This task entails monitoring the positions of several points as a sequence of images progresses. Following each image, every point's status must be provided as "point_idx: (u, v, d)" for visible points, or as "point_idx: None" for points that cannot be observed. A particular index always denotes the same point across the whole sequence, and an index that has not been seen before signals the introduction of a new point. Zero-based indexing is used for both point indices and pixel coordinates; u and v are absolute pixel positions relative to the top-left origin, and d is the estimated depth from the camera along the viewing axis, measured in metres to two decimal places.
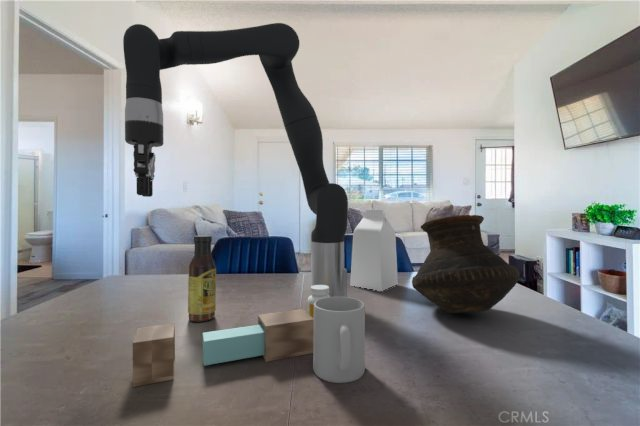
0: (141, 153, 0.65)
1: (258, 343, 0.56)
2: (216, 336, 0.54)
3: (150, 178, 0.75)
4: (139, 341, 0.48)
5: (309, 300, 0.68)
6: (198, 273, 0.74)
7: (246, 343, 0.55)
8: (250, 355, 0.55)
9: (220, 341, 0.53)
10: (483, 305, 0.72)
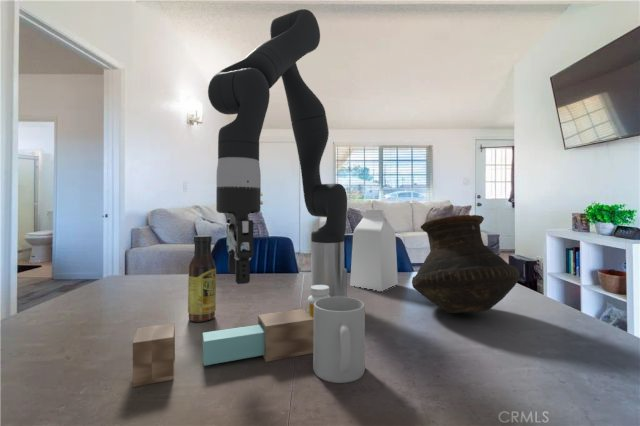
0: (245, 233, 0.50)
1: (258, 343, 0.56)
2: (216, 336, 0.54)
3: None
4: (139, 341, 0.48)
5: (309, 300, 0.68)
6: (198, 273, 0.74)
7: (246, 343, 0.55)
8: (250, 355, 0.55)
9: (220, 341, 0.53)
10: (483, 305, 0.72)
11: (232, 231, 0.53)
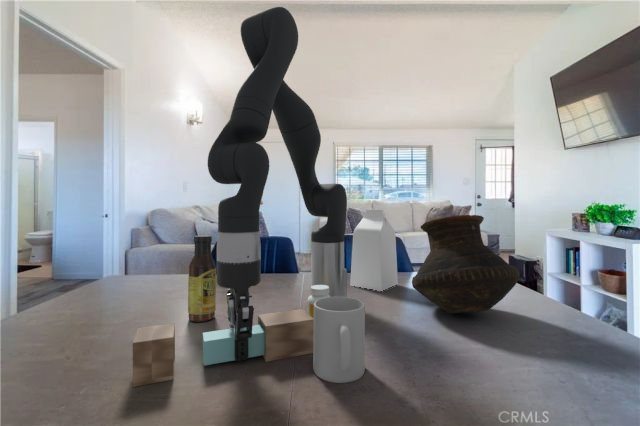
0: (245, 319, 0.51)
1: (258, 343, 0.56)
2: (216, 336, 0.54)
3: None
4: (139, 341, 0.48)
5: (309, 300, 0.68)
6: (198, 273, 0.74)
7: None
8: (250, 355, 0.55)
9: (220, 341, 0.53)
10: (483, 305, 0.72)
11: (232, 307, 0.54)
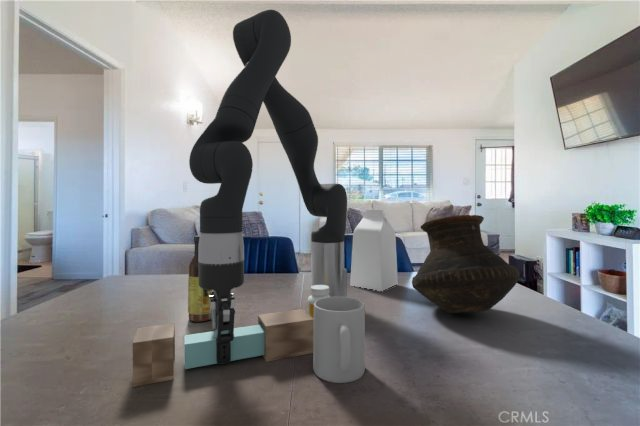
0: (226, 321, 0.50)
1: (241, 346, 0.55)
2: (198, 339, 0.53)
3: None
4: (139, 341, 0.48)
5: (309, 300, 0.68)
6: (198, 273, 0.74)
7: None
8: (233, 358, 0.54)
9: (201, 344, 0.52)
10: (483, 305, 0.72)
11: (214, 310, 0.53)
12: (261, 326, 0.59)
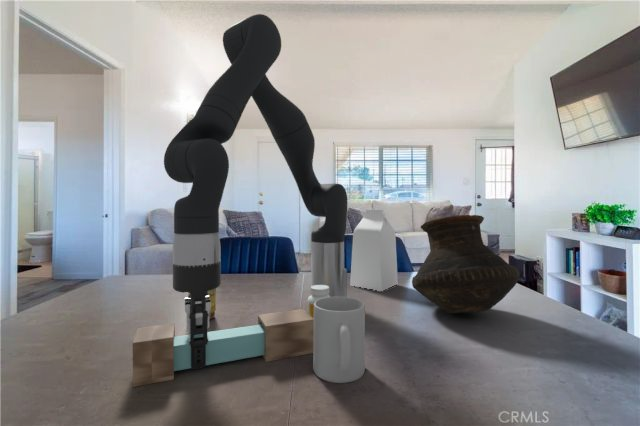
0: (199, 325, 0.48)
1: (217, 350, 0.53)
2: None
3: None
4: (139, 341, 0.48)
5: (309, 300, 0.68)
6: None
7: None
8: (208, 362, 0.53)
9: (175, 348, 0.51)
10: (483, 305, 0.72)
11: (188, 313, 0.51)
12: (239, 329, 0.57)
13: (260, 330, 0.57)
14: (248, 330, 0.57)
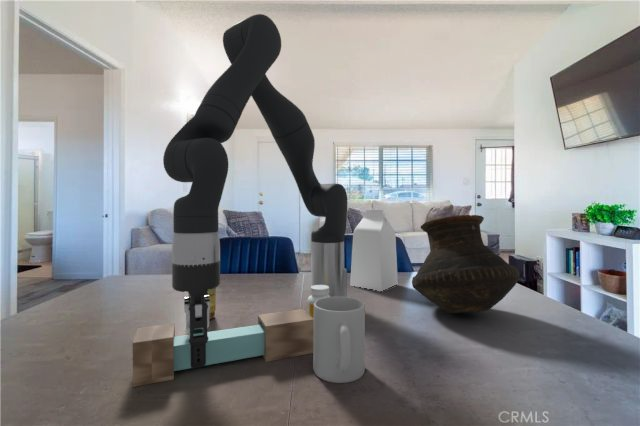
0: (199, 317, 0.48)
1: (217, 350, 0.53)
2: None
3: None
4: (139, 341, 0.48)
5: (309, 300, 0.68)
6: None
7: None
8: (208, 363, 0.53)
9: (174, 348, 0.51)
10: (483, 305, 0.72)
11: (188, 310, 0.51)
12: (239, 329, 0.57)
13: (260, 330, 0.57)
14: (248, 330, 0.57)
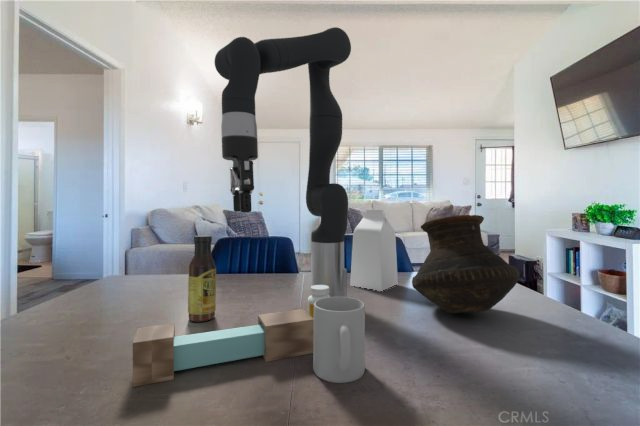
0: (247, 170, 0.63)
1: (217, 350, 0.53)
2: None
3: None
4: (139, 341, 0.48)
5: (309, 300, 0.68)
6: (198, 273, 0.74)
7: (203, 350, 0.52)
8: (208, 363, 0.53)
9: (174, 348, 0.51)
10: (483, 305, 0.72)
11: (236, 172, 0.67)
12: (239, 329, 0.57)
13: (260, 330, 0.57)
14: (248, 330, 0.57)
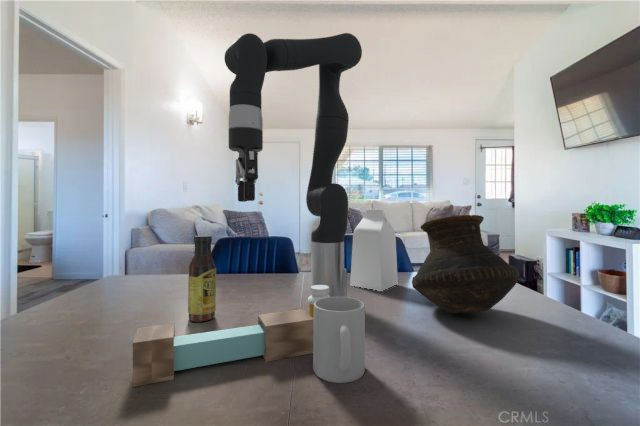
0: (251, 159, 0.66)
1: (217, 350, 0.53)
2: None
3: None
4: (139, 341, 0.48)
5: (309, 300, 0.68)
6: (198, 273, 0.74)
7: (203, 350, 0.52)
8: (208, 363, 0.53)
9: (174, 348, 0.51)
10: (483, 305, 0.72)
11: (241, 162, 0.69)
12: (239, 329, 0.57)
13: (260, 330, 0.57)
14: (248, 330, 0.57)
